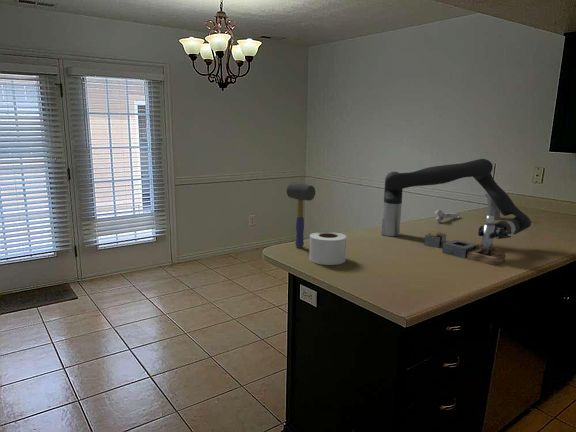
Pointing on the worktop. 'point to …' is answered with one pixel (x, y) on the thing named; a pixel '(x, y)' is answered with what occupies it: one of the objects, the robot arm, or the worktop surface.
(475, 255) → the brown hollowed block
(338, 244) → the white toilet paper roll
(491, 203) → the coffeepot
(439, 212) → the wrench
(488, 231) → the metal spray bottle
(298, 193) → the rubber mallet
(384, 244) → the worktop surface
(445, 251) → the socket block
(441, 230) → the tan flat block
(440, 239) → the guide
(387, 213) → the robot arm
